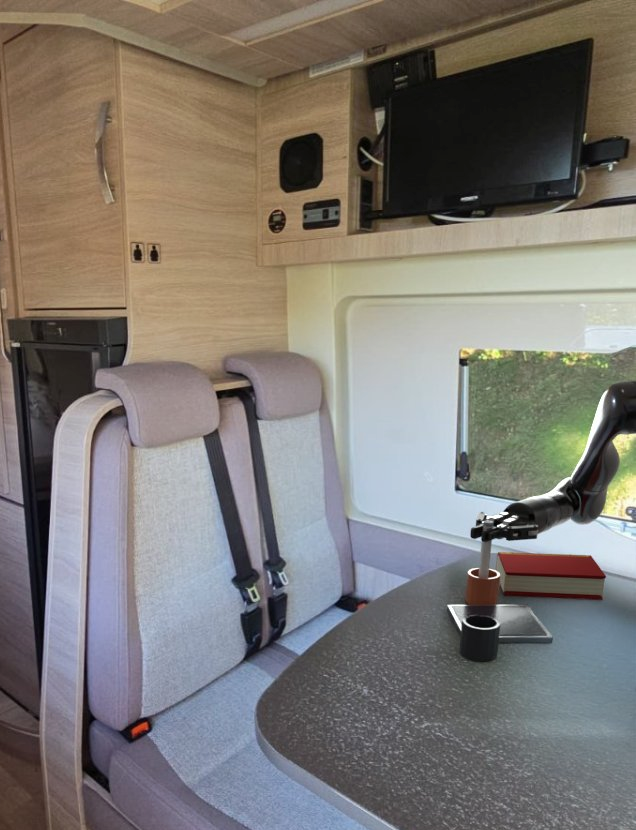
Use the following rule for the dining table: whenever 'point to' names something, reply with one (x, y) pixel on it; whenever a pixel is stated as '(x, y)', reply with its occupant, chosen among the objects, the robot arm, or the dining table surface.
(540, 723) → the dining table surface
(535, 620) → the tablet
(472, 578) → the pen cup
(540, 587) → the book
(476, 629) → the holder
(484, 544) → the stylus
